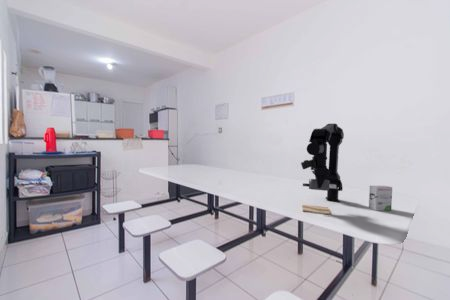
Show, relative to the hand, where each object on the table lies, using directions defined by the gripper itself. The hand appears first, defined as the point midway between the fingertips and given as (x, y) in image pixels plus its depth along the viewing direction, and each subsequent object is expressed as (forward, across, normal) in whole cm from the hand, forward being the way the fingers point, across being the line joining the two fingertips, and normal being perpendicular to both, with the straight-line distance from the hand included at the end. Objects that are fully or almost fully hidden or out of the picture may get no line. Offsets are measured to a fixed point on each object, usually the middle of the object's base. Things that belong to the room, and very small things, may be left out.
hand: (318, 187), depth 103 cm
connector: (+1, 0, 0) cm, 1 cm away
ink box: (+11, -14, +30) cm, 35 cm away
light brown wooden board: (+11, 0, -1) cm, 11 cm away
